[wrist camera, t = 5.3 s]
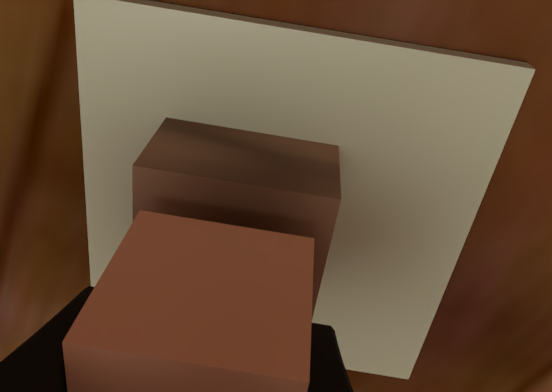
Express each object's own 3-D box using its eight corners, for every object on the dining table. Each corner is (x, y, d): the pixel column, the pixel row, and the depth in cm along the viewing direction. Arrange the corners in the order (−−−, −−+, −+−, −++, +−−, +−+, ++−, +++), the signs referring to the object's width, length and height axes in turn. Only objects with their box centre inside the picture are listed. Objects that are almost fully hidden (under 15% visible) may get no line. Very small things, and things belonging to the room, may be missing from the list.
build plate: (99, 316, 20) (93, 327, 19) (82, -11, 14) (73, -7, 13) (406, 366, 20) (408, 379, 19) (527, 62, 14) (535, 69, 13)
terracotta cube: (139, 335, 14) (77, 483, 10) (139, 210, 12) (61, 342, 8) (288, 359, 14) (275, 516, 10) (314, 238, 12) (309, 382, 8)
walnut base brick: (161, 254, 17) (133, 318, 15) (166, 117, 15) (132, 165, 12) (308, 279, 17) (305, 346, 15) (338, 145, 15) (341, 200, 12)
